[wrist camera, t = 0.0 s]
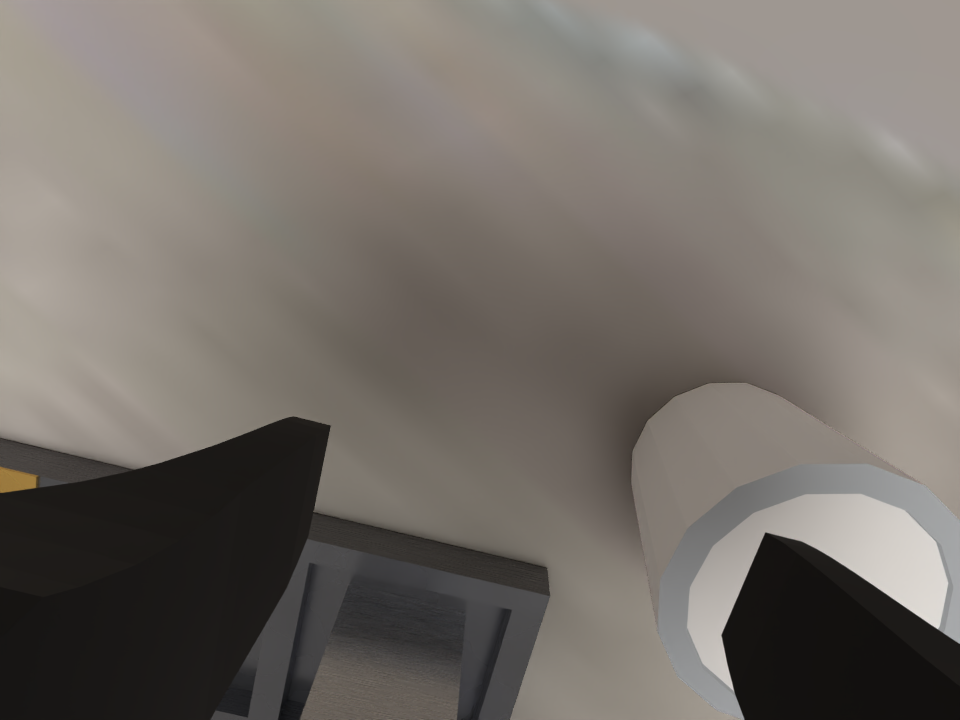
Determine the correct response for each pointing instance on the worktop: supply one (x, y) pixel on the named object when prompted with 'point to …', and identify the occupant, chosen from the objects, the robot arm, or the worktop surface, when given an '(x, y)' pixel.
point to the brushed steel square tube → (389, 660)
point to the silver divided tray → (321, 589)
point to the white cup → (773, 519)
